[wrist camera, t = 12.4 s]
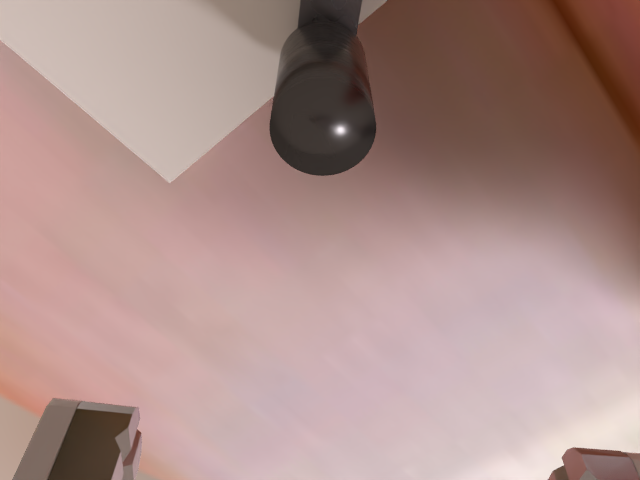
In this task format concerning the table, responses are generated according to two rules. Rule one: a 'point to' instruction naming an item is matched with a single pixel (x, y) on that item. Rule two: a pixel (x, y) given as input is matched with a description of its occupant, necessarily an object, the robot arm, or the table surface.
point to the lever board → (158, 65)
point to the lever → (323, 91)
